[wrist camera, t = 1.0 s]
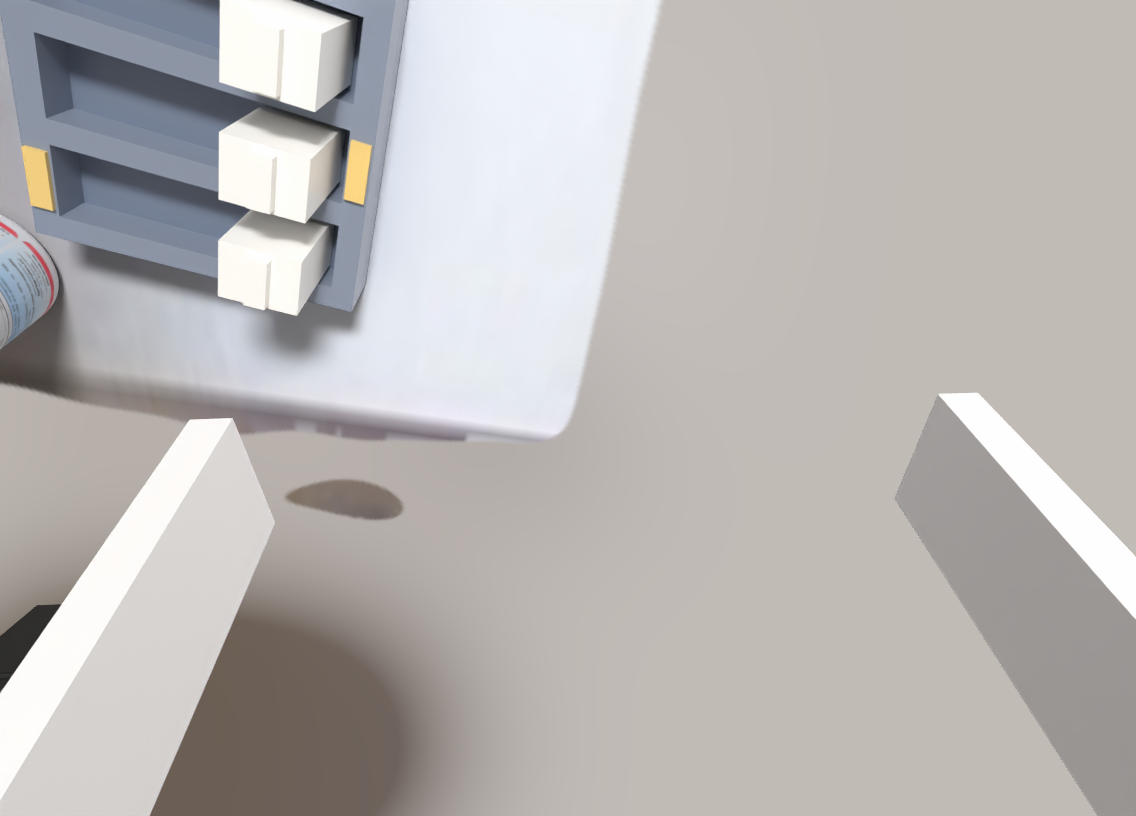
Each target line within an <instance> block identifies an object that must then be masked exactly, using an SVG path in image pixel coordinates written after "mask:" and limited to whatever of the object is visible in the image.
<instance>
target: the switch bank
mask: <svg viewBox="0 0 1136 816" xmlns="http://www.w3.org/2000/svg"><path fill="white" fill-rule="evenodd" d="M311 1H313V2H316V3H319V4H322V5H325V6H328V7H331V8H333V9H336V10H339V11H342V12H345V13H348V14H351V15H353V16H356V17H358V25H357V34H356V43H355V51H354V60H353V69H352V77H351V84H350V85H349V86H348V87H346V88H345V89H344V90H343V91H341V92H340V93H339V94H337V95H336V96H335V97H334V98H332V99H331V100H330V101H328V102H327V103H326V104H325V105H323V106H322V107H321V108H320V109H318V110H317V111H316V112H313V111H309V110H306V109H303V108H300V107H297V106H293V105H290V104H287V103H284V102H281V101H278V100H274V99H271V98H268V97H265V96H262V95H259V94H255V93H252V92H249V91H246V90H243V89H239V88H236V87H233V86H230V85H227V84H224V83H220V82H219V49H220V0H0V15H1V21H2V27H3V33H4V39H5V45H6V51H7V57H8V64H9V70H10V76H11V82H12V88H13V94H14V100H15V106H16V112H17V118H18V125H19V131H20V137H21V143H22V146H21V148H22V154H23V160H24V166H25V172H26V178H27V184H28V190H29V196H30V202H31V205H32V210H33V216H34V222H35V228H36V232H37V233H41V234H45V235H49V236H53V237H57V238H61V239H65V240H69V241H73V242H77V243H81V244H85V245H89V246H93V247H96V248H100V249H104V250H108V251H112V252H116V253H120V254H124V255H128V256H132V257H136V258H140V259H144V260H148V261H152V262H156V263H159V264H163V265H167V266H171V267H175V268H179V269H183V270H187V271H191V272H195V273H199V274H203V275H207V276H211V277H215V278H218V240H219V239H220V238H221V237H222V236H223V235H224V234H226V233H227V232H228V231H229V230H230V229H231V228H232V227H233V226H234V225H235V224H236V223H237V222H238V221H239V220H240V219H241V218H242V217H244V216H245V215H246V214H247V213H248V212H249V211H250V210H251V209H248V208H246V207H244V206H240V205H236V204H233V203H229V202H226V201H222V200H219V132H220V131H221V130H223V129H225V128H226V127H228V126H230V125H231V124H233V123H235V122H236V121H238V120H239V119H241V118H243V117H244V116H246V115H248V114H249V113H251V112H253V111H254V110H256V109H258V108H259V107H261V106H262V105H264V104H266V105H269V106H272V107H275V108H279V109H282V110H285V111H288V112H291V113H295V114H298V115H301V116H304V117H307V118H311V119H314V120H317V121H320V122H323V123H327V124H330V125H333V126H336V127H339V128H343V129H346V130H345V139H344V147H343V156H342V165H341V174H340V181H339V183H338V184H337V185H336V186H335V188H334V189H333V190H332V191H331V192H330V194H329V195H328V196H327V197H326V199H325V200H324V201H323V202H322V204H321V205H320V206H319V207H318V208H317V210H316V211H315V212H314V213H313V215H312V216H311V217H310V218H313V219H316V220H320V221H323V222H327V223H330V224H334V225H335V226H334V235H333V243H332V252H331V261H330V265H329V267H328V268H327V270H326V271H325V273H324V274H323V276H322V278H321V279H320V281H319V282H318V284H317V285H316V287H315V289H314V290H313V292H312V293H311V295H310V296H309V298H308V300H307V301H309V302H313V303H317V304H321V305H325V306H329V307H333V308H337V309H341V310H344V311H348V312H352V310H353V308H354V306H355V304H356V302H357V300H358V298H359V296H360V294H361V292H362V290H363V288H364V286H365V284H366V278H367V271H368V264H369V258H370V251H371V245H372V238H373V231H374V225H375V218H376V212H377V205H378V198H379V192H380V185H381V179H382V172H383V165H384V159H385V152H386V146H387V139H388V132H389V126H390V119H391V113H392V106H393V100H394V93H395V86H396V80H397V73H398V67H399V60H400V53H401V47H402V40H403V34H404V27H405V20H406V14H407V7H408V1H409V0H311Z"/></svg>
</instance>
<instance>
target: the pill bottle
mask: <svg viewBox="0 0 1136 816" xmlns="http://www.w3.org/2000/svg"><path fill="white" fill-rule="evenodd" d="M58 288H59V280H58V275H57V271H56V268H55V266H54V264H53V262H52V260H51V258H50V257H49V255H48V253H47V252H46V251H45V249H44V248H43V247H42V246H41V244H40V243H39V242H38V241H37V240H36V239H35V238H34V237H33V236H32V235H31V234H29V233H28V232H27V231H26V230H25V229H24V228H22V227H21V226H19V225H18V224H17V223H15V222H14V221H12V220H10V219H8V218H7V217H5V216H3V215H1V214H0V350H1V349H2V348H3V347H4V346H5V345H7V344H8V343H9V342H10V341H11V340H13V339H15V338H16V337H17V336H18V335H19V334H21V333H22V332H23V331H24V330H25V329H26V328H28V327H29V326H30V325H32V324H33V323H34V322H35V321H36V320H38V319H39V318H40V317H42V316H43V315H44V314H45V313H46V312H47V311H48V310H49V309H50V308H51V306H52V305H53V303H54V301H55V300H56V297H57V294H58Z"/></svg>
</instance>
